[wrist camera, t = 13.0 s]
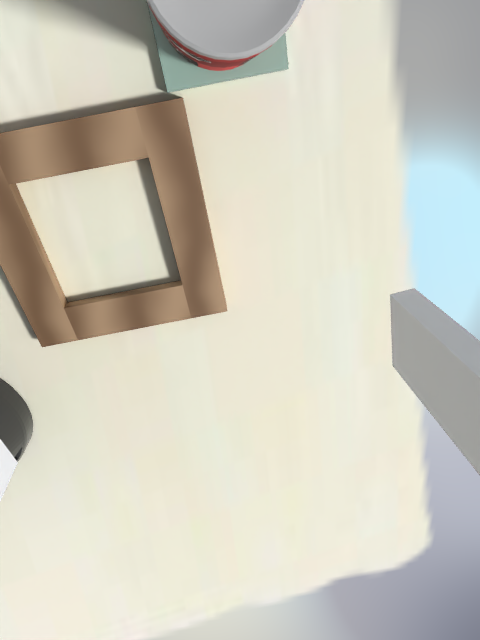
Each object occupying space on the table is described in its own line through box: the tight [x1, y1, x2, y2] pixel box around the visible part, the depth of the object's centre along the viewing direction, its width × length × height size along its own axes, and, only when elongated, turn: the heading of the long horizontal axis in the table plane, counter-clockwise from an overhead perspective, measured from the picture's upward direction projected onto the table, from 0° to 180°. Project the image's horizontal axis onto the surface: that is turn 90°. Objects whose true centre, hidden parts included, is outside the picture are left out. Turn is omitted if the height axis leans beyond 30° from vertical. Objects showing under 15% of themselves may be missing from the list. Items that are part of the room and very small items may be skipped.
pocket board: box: [0, 98, 227, 347], centre depth 34 cm, size 18×18×1 cm
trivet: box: [147, 3, 288, 93], centre depth 27 cm, size 9×9×1 cm
